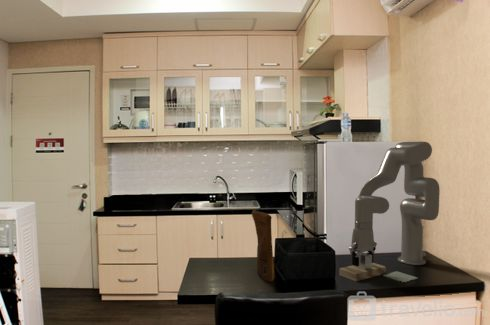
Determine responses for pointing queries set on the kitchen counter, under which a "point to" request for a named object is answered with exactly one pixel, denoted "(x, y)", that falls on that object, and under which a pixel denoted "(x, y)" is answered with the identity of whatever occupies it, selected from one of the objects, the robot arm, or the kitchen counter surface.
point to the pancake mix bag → (264, 245)
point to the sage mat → (400, 276)
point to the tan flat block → (361, 272)
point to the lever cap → (365, 261)
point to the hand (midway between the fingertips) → (362, 263)
